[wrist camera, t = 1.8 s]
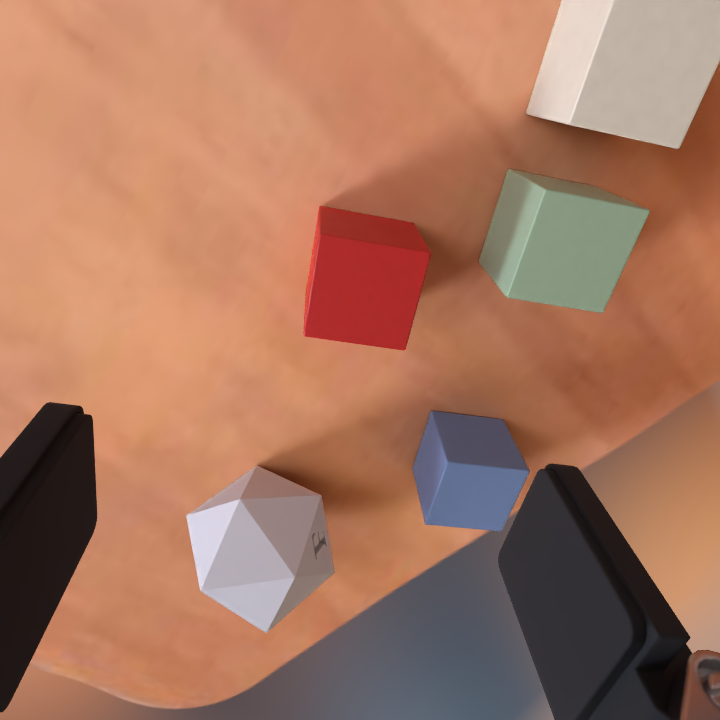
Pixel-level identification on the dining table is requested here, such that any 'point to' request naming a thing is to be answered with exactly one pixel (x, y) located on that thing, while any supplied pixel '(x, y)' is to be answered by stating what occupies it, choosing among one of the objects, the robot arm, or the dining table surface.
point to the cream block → (629, 66)
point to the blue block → (468, 471)
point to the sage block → (559, 241)
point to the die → (261, 546)
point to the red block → (364, 279)
